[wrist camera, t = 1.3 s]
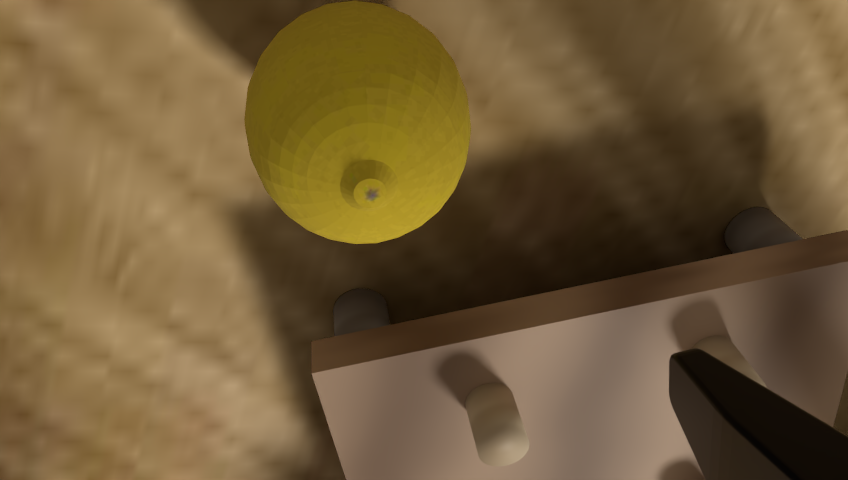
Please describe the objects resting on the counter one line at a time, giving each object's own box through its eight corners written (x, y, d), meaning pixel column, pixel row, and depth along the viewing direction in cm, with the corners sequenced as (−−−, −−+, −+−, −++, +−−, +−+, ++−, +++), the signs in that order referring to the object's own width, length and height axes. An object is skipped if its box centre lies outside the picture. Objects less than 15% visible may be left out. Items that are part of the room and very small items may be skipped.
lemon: (356, 184, 23) (376, 342, 16) (216, 73, 20) (170, 206, 13) (478, 64, 21) (557, 184, 14) (343, -74, 19) (363, -6, 12)
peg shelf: (793, 188, 25) (926, 292, 20) (753, 427, 32) (842, 553, 27) (311, 286, 25) (311, 422, 19) (377, 509, 32) (391, 655, 26)
